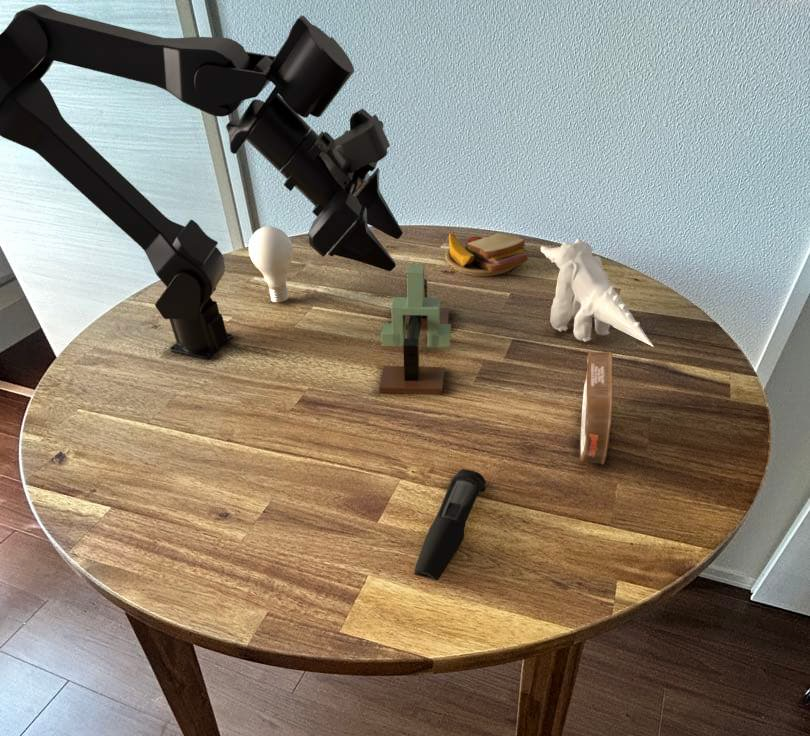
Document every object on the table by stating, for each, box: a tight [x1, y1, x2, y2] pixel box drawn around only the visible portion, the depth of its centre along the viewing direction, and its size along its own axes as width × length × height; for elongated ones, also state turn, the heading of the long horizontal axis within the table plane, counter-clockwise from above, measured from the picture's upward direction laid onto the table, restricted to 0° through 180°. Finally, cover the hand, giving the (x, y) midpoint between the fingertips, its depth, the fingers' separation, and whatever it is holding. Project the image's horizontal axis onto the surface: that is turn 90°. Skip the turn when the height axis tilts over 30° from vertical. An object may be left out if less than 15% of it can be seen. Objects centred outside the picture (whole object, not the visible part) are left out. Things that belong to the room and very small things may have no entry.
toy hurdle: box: [378, 278, 450, 395], centre depth 87 cm, size 8×21×6 cm, turn 175°
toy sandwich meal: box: [444, 232, 529, 277], centre depth 105 cm, size 12×14×5 cm
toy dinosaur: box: [540, 238, 655, 348], centre depth 86 cm, size 7×24×11 cm, turn 28°
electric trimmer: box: [413, 468, 487, 581], centre depth 64 cm, size 4×16×3 cm, turn 159°
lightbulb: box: [248, 225, 294, 304], centre depth 96 cm, size 6×6×11 cm
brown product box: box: [579, 351, 614, 465], centre depth 72 cm, size 15×3×8 cm, turn 168°
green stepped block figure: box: [380, 263, 452, 348], centre depth 84 cm, size 9×3×10 cm, turn 85°
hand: (397, 251), depth 79 cm, fingers open, 9 cm apart
